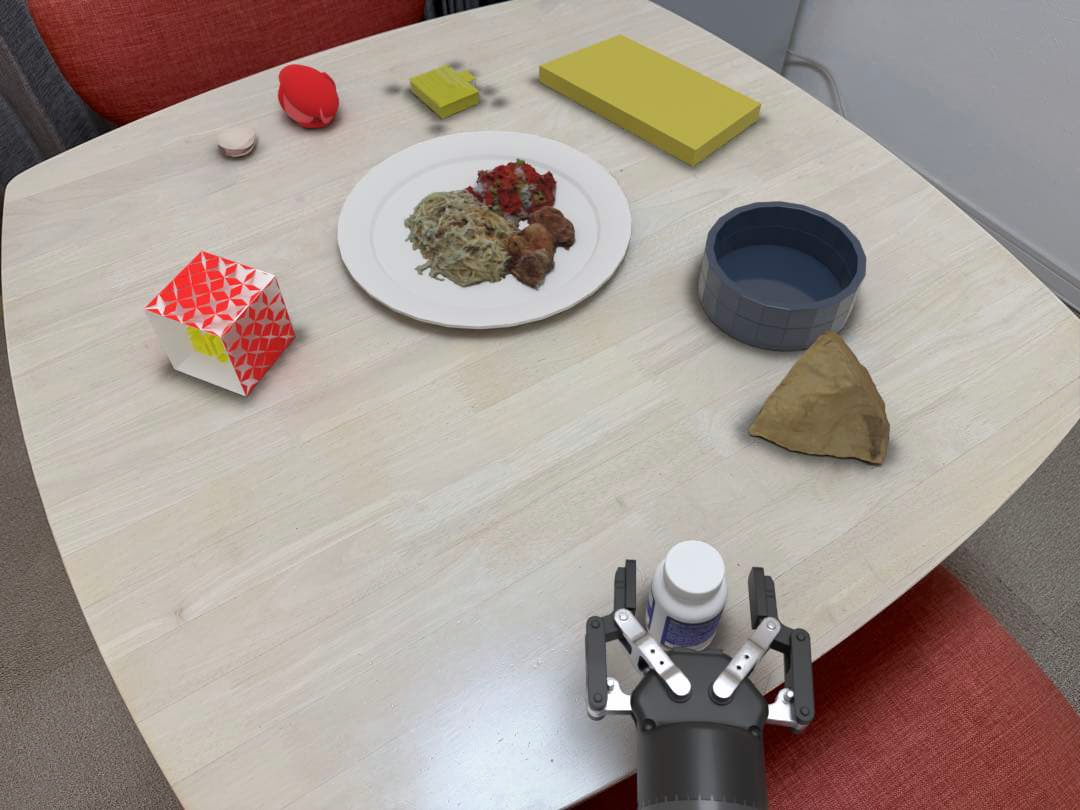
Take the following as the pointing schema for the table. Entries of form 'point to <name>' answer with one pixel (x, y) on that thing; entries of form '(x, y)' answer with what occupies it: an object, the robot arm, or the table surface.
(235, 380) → the red patterned cube
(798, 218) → the pot
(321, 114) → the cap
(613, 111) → the flat olive board
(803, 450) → the rock
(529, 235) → the plated food
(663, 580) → the pill bottle
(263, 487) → the table surface
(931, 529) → the table surface
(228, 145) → the macaroon
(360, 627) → the table surface
